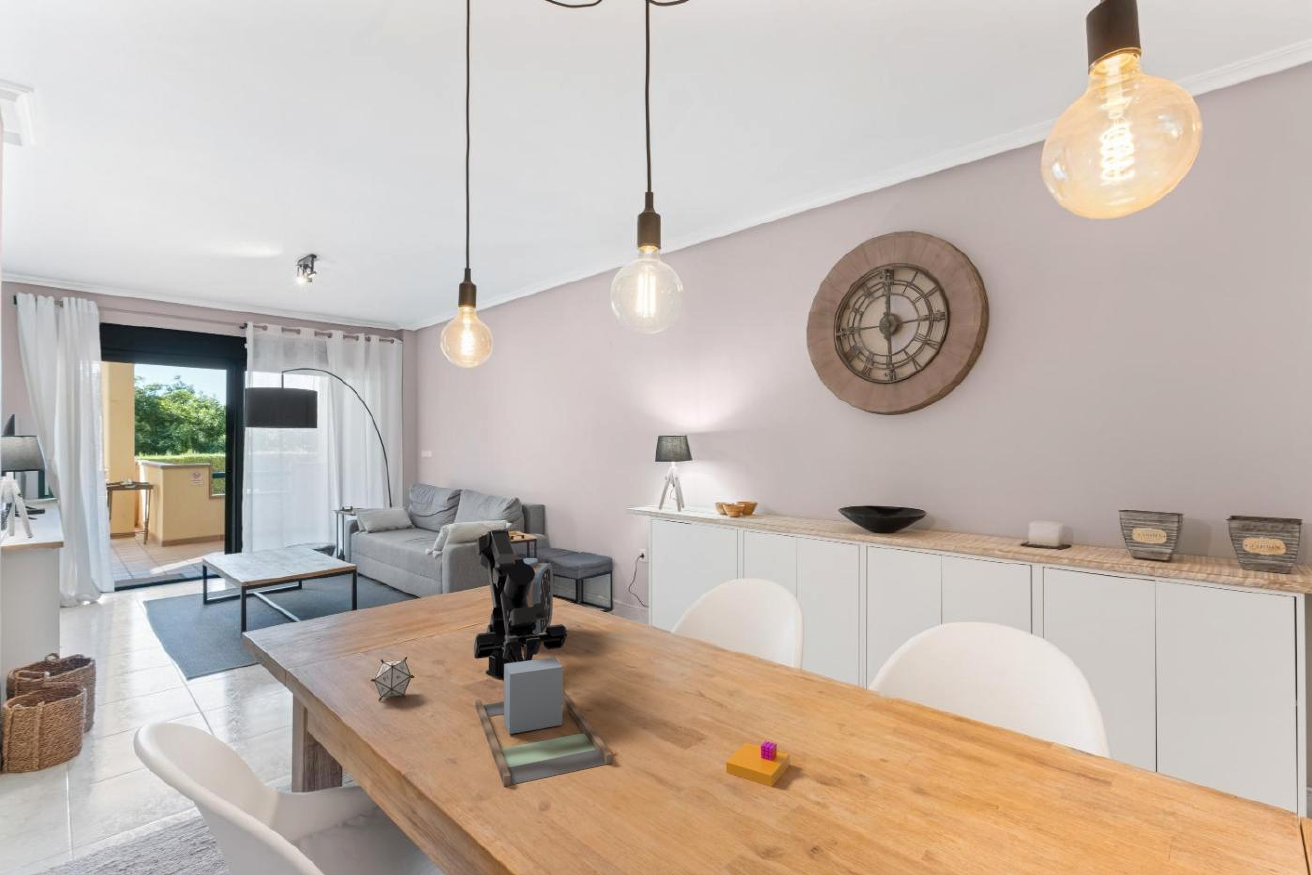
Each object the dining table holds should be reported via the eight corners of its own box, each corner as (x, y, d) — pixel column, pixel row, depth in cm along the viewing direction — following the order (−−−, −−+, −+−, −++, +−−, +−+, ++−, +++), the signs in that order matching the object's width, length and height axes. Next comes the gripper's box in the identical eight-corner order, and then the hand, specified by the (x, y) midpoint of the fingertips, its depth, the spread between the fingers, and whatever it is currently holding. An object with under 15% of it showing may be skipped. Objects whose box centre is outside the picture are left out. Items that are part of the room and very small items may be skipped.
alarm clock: (538, 649, 163) (539, 567, 164) (503, 649, 164) (504, 567, 164) (552, 627, 184) (553, 554, 184) (521, 627, 184) (521, 554, 185)
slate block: (503, 720, 119) (504, 663, 120) (554, 712, 123) (554, 657, 124) (509, 734, 114) (510, 674, 114) (562, 724, 118) (562, 666, 118)
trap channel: (475, 706, 127) (475, 698, 127) (560, 692, 134) (560, 685, 134) (503, 786, 97) (504, 776, 97) (611, 763, 104) (611, 754, 104)
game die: (396, 717, 130) (394, 690, 124) (363, 700, 131) (359, 672, 126) (424, 684, 137) (423, 656, 131) (392, 667, 139) (390, 640, 133)
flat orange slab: (771, 789, 97) (771, 762, 97) (725, 775, 101) (725, 749, 101) (789, 767, 104) (789, 742, 104) (746, 755, 108) (746, 730, 108)
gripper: (476, 594, 125) (483, 666, 115) (565, 586, 133) (579, 653, 123) (470, 623, 132) (477, 693, 122) (555, 614, 140) (568, 679, 130)
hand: (526, 679), depth 124 cm, fingers closed
